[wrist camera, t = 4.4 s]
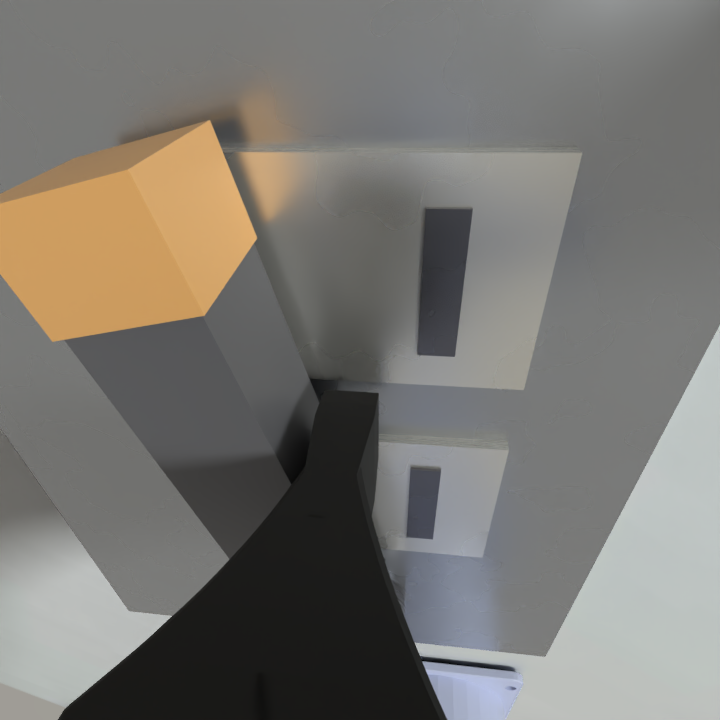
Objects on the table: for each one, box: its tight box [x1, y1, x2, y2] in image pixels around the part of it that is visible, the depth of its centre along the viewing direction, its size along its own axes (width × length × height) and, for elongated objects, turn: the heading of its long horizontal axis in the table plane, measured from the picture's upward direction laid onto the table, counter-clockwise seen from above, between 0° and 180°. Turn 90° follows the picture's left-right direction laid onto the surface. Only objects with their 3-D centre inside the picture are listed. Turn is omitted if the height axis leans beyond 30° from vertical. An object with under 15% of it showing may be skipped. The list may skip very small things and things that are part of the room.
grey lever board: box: [0, 0, 720, 657], centre depth 12 cm, size 22×18×5 cm
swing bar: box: [0, 120, 392, 581], centre depth 11 cm, size 14×3×3 cm, turn 15°
